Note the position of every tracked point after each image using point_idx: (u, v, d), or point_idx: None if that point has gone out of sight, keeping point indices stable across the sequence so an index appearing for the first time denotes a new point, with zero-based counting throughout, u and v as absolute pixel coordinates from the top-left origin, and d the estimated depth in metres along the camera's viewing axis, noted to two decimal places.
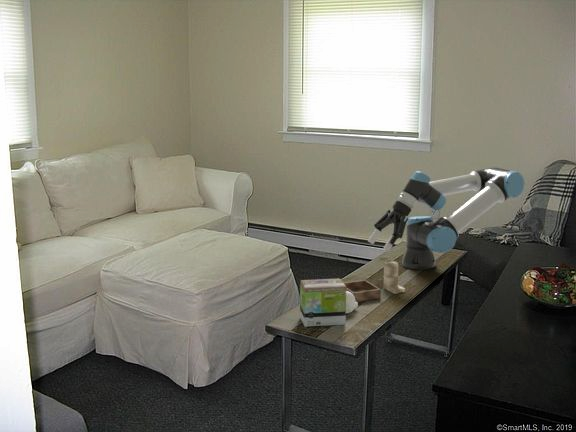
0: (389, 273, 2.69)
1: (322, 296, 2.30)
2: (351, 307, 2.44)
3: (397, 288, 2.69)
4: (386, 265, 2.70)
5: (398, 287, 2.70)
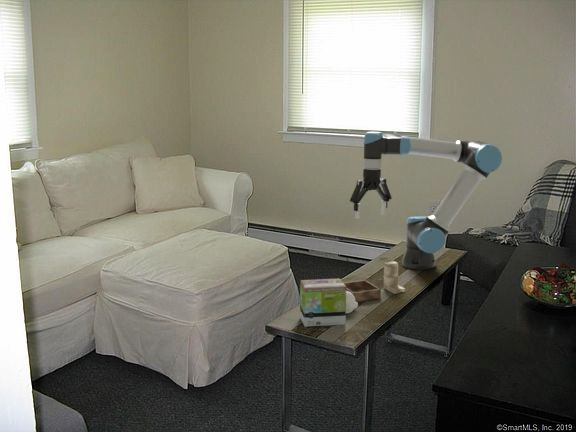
0: (389, 273, 2.69)
1: (322, 296, 2.30)
2: (351, 307, 2.44)
3: (397, 288, 2.69)
4: (386, 265, 2.70)
5: (398, 287, 2.70)
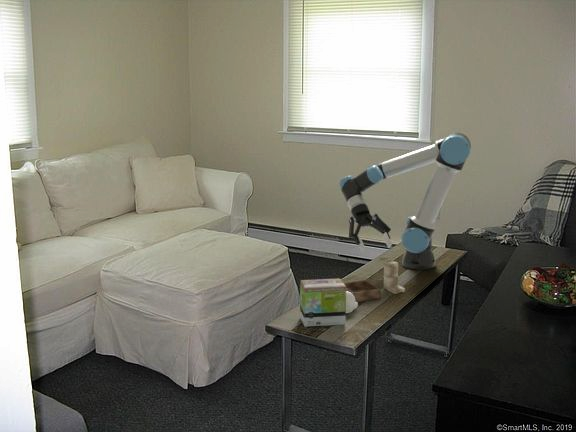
0: (388, 273, 2.69)
1: (322, 296, 2.30)
2: (351, 307, 2.44)
3: (397, 288, 2.69)
4: (386, 265, 2.70)
5: (398, 287, 2.70)
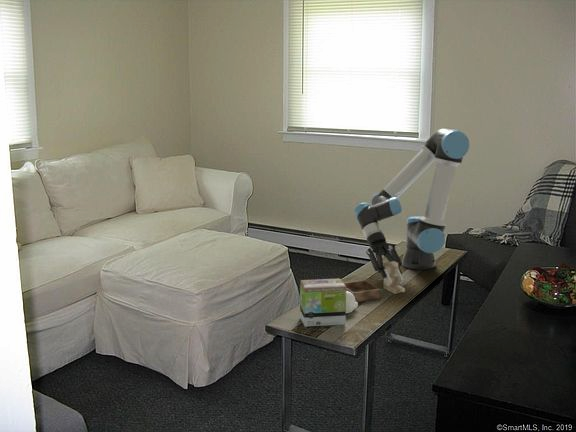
0: (388, 273, 2.69)
1: (322, 296, 2.30)
2: (351, 307, 2.44)
3: (397, 287, 2.69)
4: (386, 265, 2.70)
5: (398, 286, 2.70)
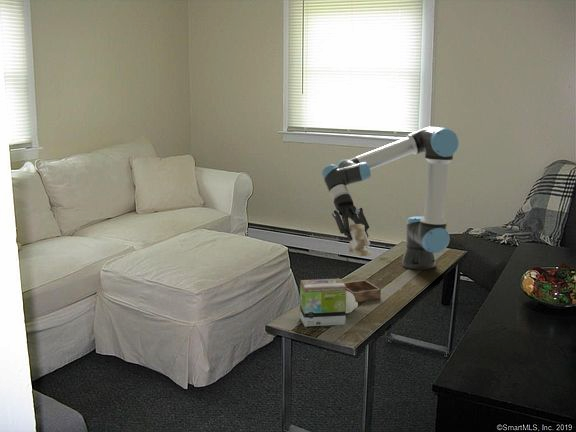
0: (354, 236, 2.60)
1: (322, 296, 2.30)
2: (351, 307, 2.44)
3: (363, 250, 2.59)
4: (352, 227, 2.60)
5: (364, 250, 2.60)
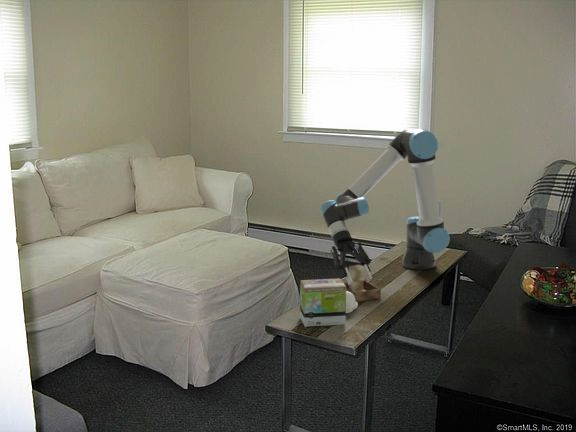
0: (353, 277, 2.63)
1: (322, 296, 2.30)
2: (351, 307, 2.44)
3: None
4: (351, 269, 2.63)
5: None
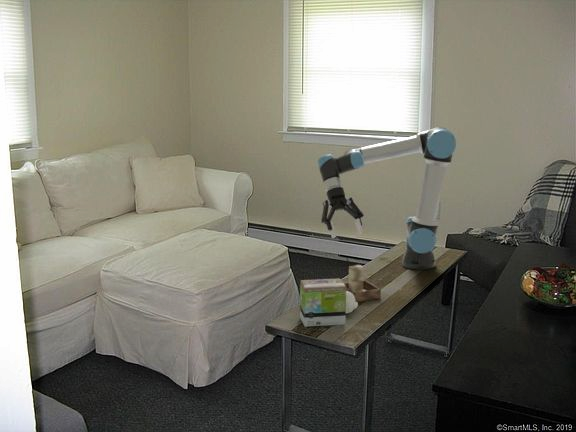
0: (353, 277, 2.63)
1: (322, 296, 2.30)
2: (351, 307, 2.44)
3: None
4: (351, 269, 2.63)
5: None
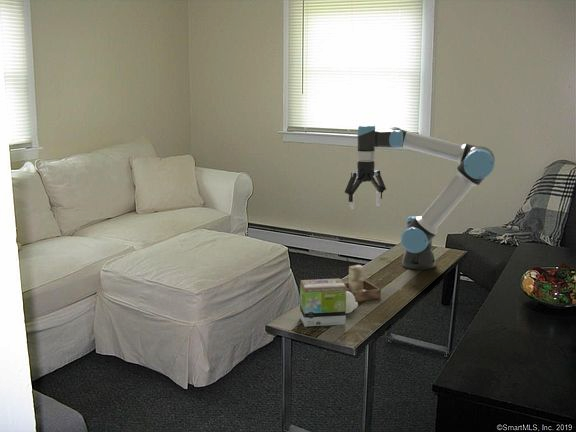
0: (353, 277, 2.63)
1: (322, 296, 2.30)
2: (351, 307, 2.44)
3: None
4: (351, 269, 2.63)
5: None
